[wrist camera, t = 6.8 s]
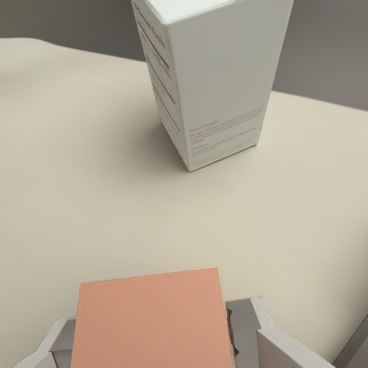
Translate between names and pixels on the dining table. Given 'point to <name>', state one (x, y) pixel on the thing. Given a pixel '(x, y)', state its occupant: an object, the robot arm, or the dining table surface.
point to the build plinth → (355, 350)
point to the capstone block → (152, 322)
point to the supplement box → (212, 70)
